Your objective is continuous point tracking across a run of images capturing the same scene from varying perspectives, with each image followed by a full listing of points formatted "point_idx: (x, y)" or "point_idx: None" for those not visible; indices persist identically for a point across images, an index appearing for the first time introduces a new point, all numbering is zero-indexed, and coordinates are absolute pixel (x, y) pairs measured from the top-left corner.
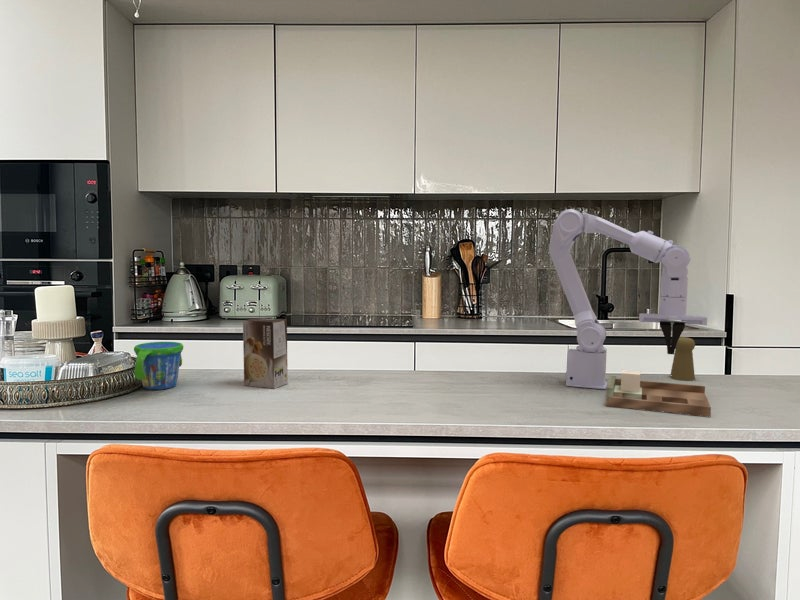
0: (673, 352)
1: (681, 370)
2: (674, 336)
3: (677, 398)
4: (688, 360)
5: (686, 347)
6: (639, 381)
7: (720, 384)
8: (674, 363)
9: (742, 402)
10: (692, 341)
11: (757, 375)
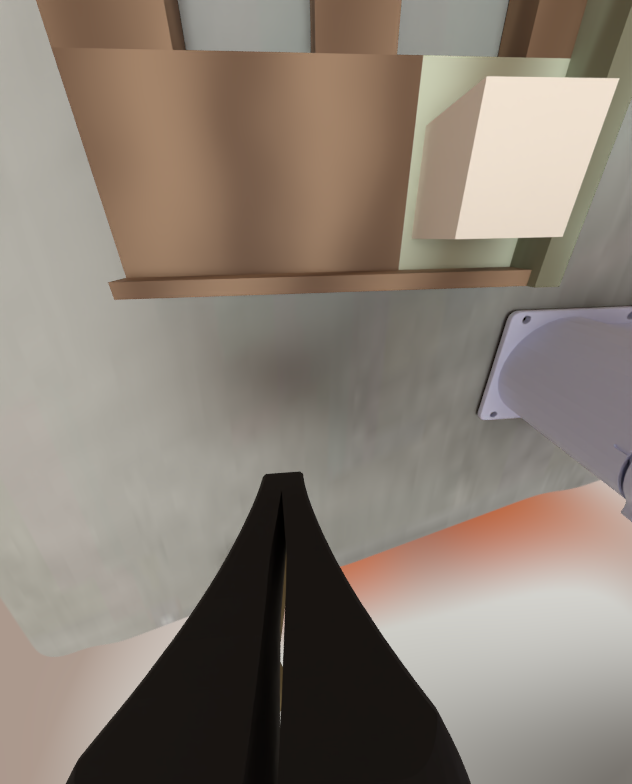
0: (265, 480)
1: None
2: (247, 606)
3: (227, 53)
4: None
5: None
6: (462, 97)
7: (160, 543)
8: None
9: (23, 345)
10: None
11: (109, 641)
